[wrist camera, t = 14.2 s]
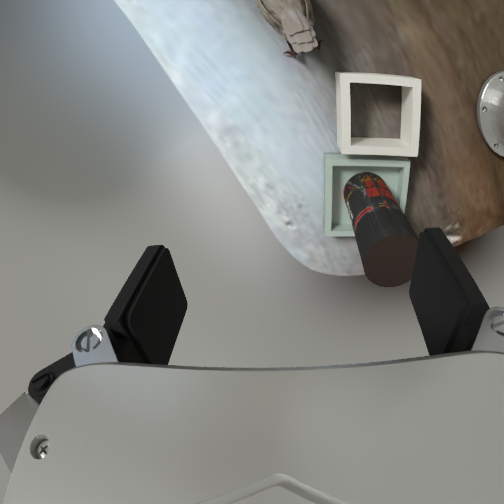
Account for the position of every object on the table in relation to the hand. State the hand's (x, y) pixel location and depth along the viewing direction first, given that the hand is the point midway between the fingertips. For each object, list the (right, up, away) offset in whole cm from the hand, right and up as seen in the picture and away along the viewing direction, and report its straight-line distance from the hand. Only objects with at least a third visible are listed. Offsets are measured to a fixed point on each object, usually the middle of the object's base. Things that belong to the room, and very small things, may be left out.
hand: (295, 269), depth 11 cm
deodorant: (+13, +8, +28) cm, 32 cm away
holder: (+13, +18, +22) cm, 31 cm away
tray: (+13, +9, +28) cm, 32 cm away
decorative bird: (+2, +29, +16) cm, 33 cm away
